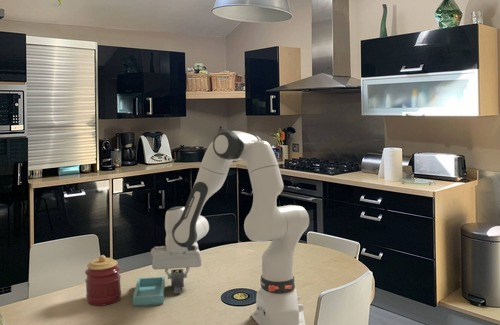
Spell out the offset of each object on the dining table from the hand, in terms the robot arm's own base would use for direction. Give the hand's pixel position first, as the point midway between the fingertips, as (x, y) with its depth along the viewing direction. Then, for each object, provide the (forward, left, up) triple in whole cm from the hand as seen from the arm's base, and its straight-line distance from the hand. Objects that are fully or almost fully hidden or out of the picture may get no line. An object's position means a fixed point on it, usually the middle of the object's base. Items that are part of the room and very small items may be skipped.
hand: (177, 277), depth 189 cm
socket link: (-3, 0, -3) cm, 5 cm away
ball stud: (0, 0, -4) cm, 4 cm away
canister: (-8, +28, -4) cm, 30 cm away
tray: (-7, +11, -4) cm, 14 cm away
